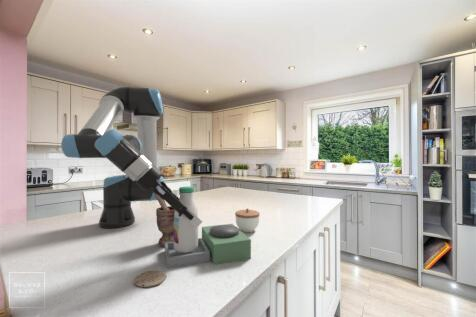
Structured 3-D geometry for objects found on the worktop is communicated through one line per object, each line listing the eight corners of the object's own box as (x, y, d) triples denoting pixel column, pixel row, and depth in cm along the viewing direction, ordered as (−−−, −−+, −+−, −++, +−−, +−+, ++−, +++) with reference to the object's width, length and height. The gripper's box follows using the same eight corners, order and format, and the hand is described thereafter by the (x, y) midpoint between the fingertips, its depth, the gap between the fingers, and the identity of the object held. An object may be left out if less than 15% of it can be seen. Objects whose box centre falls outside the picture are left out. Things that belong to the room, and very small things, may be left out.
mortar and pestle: (143, 246, 81) (143, 190, 80) (157, 237, 89) (157, 187, 89) (173, 248, 78) (173, 191, 78) (184, 239, 87) (184, 188, 87)
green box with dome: (201, 242, 84) (201, 223, 84) (232, 238, 88) (232, 220, 88) (214, 264, 67) (214, 240, 67) (250, 258, 71) (250, 235, 71)
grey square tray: (164, 250, 76) (164, 242, 76) (201, 245, 81) (201, 238, 81) (167, 268, 65) (167, 258, 65) (209, 261, 69) (209, 252, 69)
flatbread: (127, 283, 57) (127, 279, 57) (151, 270, 64) (151, 266, 64) (149, 292, 53) (149, 288, 53) (172, 277, 60) (172, 274, 60)
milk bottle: (200, 244, 76) (201, 185, 76) (194, 254, 68) (194, 189, 68) (178, 243, 77) (179, 185, 77) (169, 252, 69) (170, 188, 69)
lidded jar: (252, 235, 92) (252, 213, 92) (230, 231, 97) (230, 209, 97) (263, 228, 101) (263, 208, 101) (243, 224, 106) (243, 205, 106)
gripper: (136, 179, 77) (184, 221, 82) (131, 186, 58) (194, 240, 63) (153, 163, 78) (198, 206, 84) (153, 165, 59) (212, 220, 65)
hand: (196, 221), depth 74 cm, fingers closed on milk bottle, 7 cm apart
